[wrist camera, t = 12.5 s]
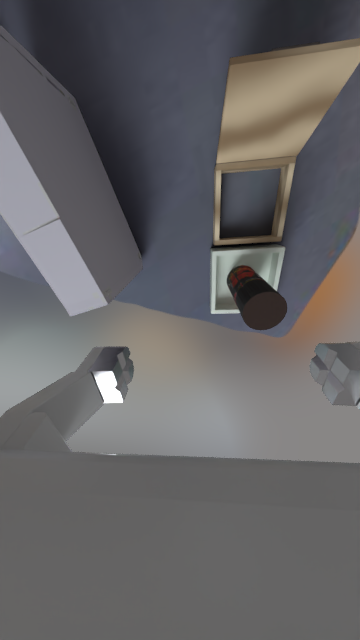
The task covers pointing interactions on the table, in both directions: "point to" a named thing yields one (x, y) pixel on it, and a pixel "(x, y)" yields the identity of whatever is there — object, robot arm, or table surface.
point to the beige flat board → (281, 98)
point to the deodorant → (255, 298)
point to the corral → (281, 202)
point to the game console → (59, 187)
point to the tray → (226, 258)
